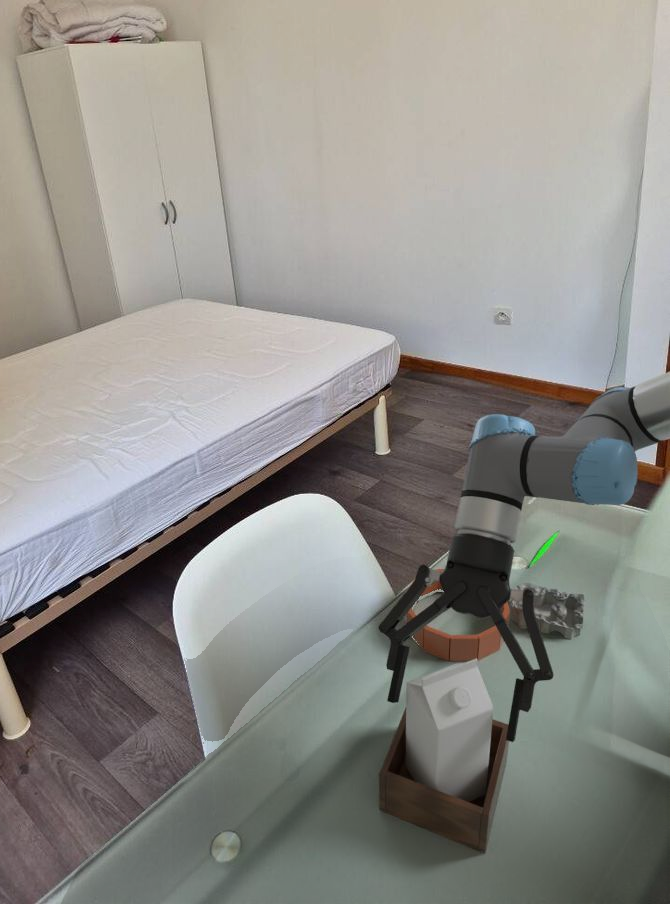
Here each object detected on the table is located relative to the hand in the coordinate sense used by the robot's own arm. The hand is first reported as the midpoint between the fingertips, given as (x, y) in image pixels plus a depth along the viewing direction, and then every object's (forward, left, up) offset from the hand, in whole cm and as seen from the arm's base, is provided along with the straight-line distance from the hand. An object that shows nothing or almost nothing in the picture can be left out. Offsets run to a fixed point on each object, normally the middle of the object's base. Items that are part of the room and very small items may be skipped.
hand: (449, 720), depth 79 cm
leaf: (+2, -52, -13) cm, 54 cm away
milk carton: (0, -1, -12) cm, 12 cm away
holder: (0, -1, -12) cm, 12 cm away
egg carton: (-3, -35, -13) cm, 37 cm away
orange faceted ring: (+9, -27, -12) cm, 31 cm away
